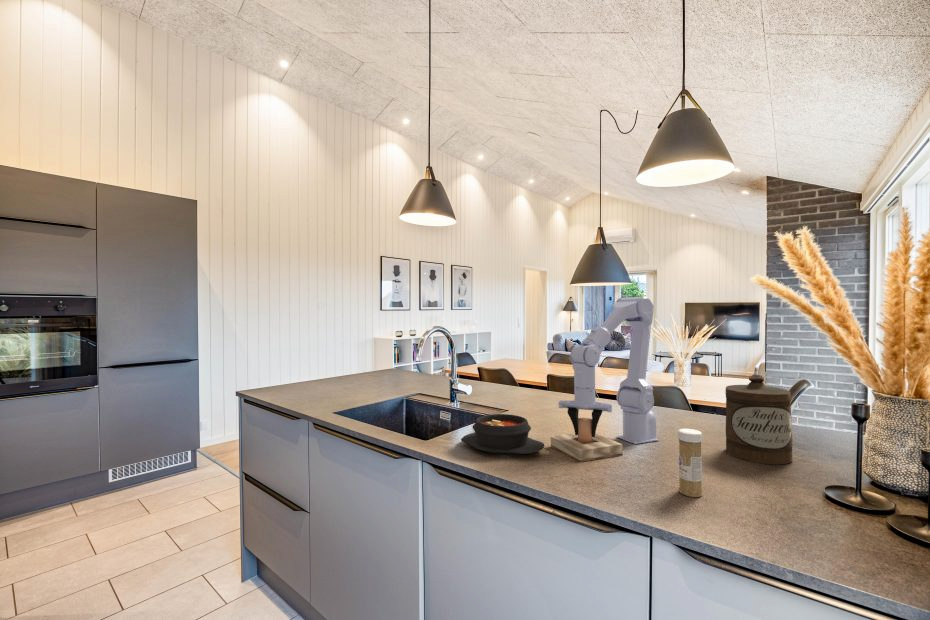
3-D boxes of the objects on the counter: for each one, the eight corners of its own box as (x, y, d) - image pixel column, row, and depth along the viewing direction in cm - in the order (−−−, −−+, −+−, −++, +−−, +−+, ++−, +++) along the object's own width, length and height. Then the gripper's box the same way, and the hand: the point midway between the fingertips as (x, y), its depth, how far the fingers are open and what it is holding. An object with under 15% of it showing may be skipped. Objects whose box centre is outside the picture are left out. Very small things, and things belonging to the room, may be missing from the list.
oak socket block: (589, 441, 127) (589, 431, 127) (622, 455, 114) (622, 444, 114) (550, 446, 122) (550, 436, 122) (580, 461, 109) (580, 450, 109)
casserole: (554, 447, 122) (554, 418, 122) (527, 466, 106) (526, 433, 106) (481, 434, 136) (481, 408, 136) (448, 449, 120) (447, 420, 120)
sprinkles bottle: (674, 489, 92) (673, 428, 92) (693, 488, 92) (693, 427, 92) (687, 498, 87) (686, 434, 87) (708, 497, 87) (706, 433, 88)
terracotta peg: (586, 441, 121) (586, 417, 121) (595, 445, 117) (595, 420, 117) (575, 442, 119) (574, 418, 119) (584, 446, 116) (583, 421, 116)
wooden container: (736, 462, 109) (734, 377, 109) (719, 445, 123) (718, 370, 123) (803, 467, 104) (802, 379, 105) (778, 449, 118) (777, 372, 119)
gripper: (556, 387, 118) (556, 436, 118) (610, 391, 112) (611, 442, 112) (561, 384, 124) (561, 429, 124) (612, 387, 118) (613, 435, 118)
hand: (585, 435), depth 118 cm, fingers closed on terracotta peg, 4 cm apart
